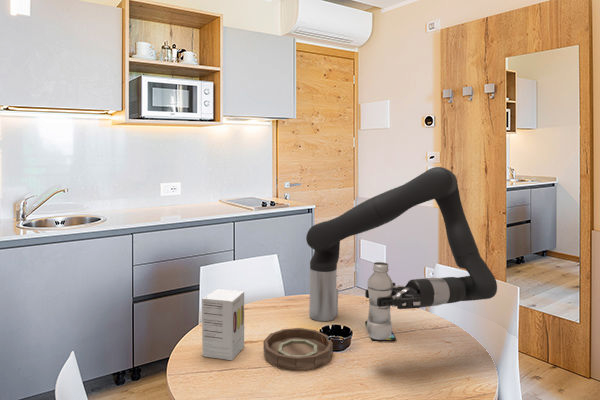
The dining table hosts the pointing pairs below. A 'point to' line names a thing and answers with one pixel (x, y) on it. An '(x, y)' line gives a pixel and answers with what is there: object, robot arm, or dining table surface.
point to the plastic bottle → (377, 288)
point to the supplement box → (223, 324)
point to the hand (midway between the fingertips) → (371, 298)
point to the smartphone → (391, 338)
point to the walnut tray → (297, 349)
